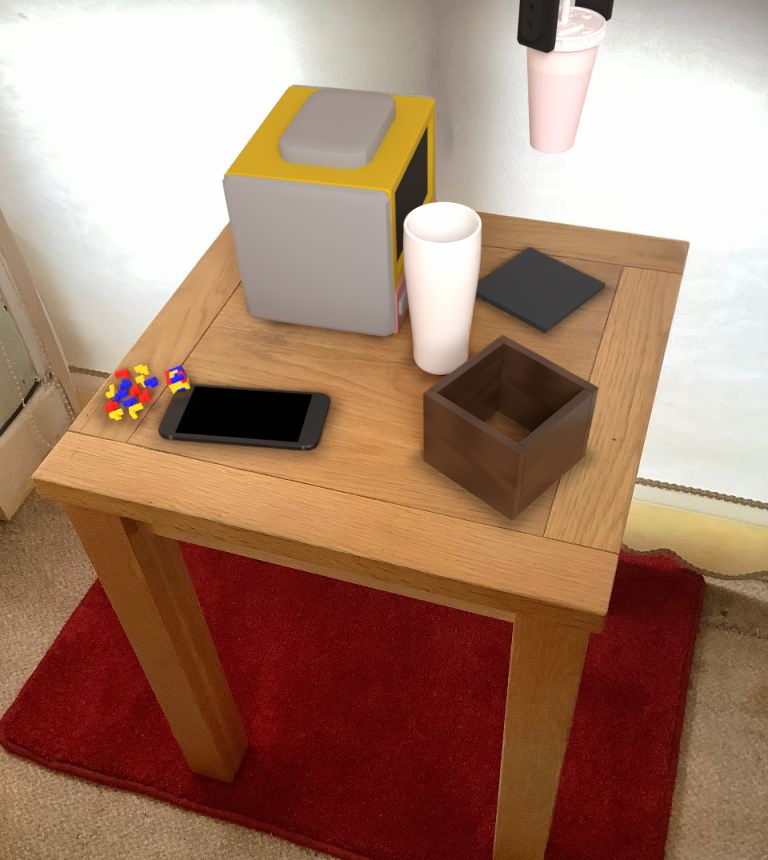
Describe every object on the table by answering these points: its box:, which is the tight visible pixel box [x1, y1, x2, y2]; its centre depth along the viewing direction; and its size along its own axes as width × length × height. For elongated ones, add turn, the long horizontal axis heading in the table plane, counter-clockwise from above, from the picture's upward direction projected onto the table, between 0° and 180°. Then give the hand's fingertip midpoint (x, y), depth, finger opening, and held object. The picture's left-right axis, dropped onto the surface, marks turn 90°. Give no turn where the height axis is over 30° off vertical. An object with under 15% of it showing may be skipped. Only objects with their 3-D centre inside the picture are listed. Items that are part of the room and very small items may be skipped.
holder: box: [422, 334, 599, 521], centre depth 73 cm, size 10×10×8 cm
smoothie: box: [526, 0, 607, 155], centre depth 69 cm, size 6×6×14 cm
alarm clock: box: [221, 84, 438, 338], centre depth 86 cm, size 20×16×18 cm
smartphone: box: [157, 383, 332, 452], centre depth 80 cm, size 7×15×1 cm, turn 82°
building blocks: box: [103, 364, 191, 421], centre depth 83 cm, size 6×8×2 cm
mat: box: [476, 247, 606, 333], centre depth 91 cm, size 10×10×1 cm
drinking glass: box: [403, 201, 483, 376], centre depth 79 cm, size 7×7×15 cm
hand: (564, 29), depth 67 cm, fingers closed on smoothie, 6 cm apart
